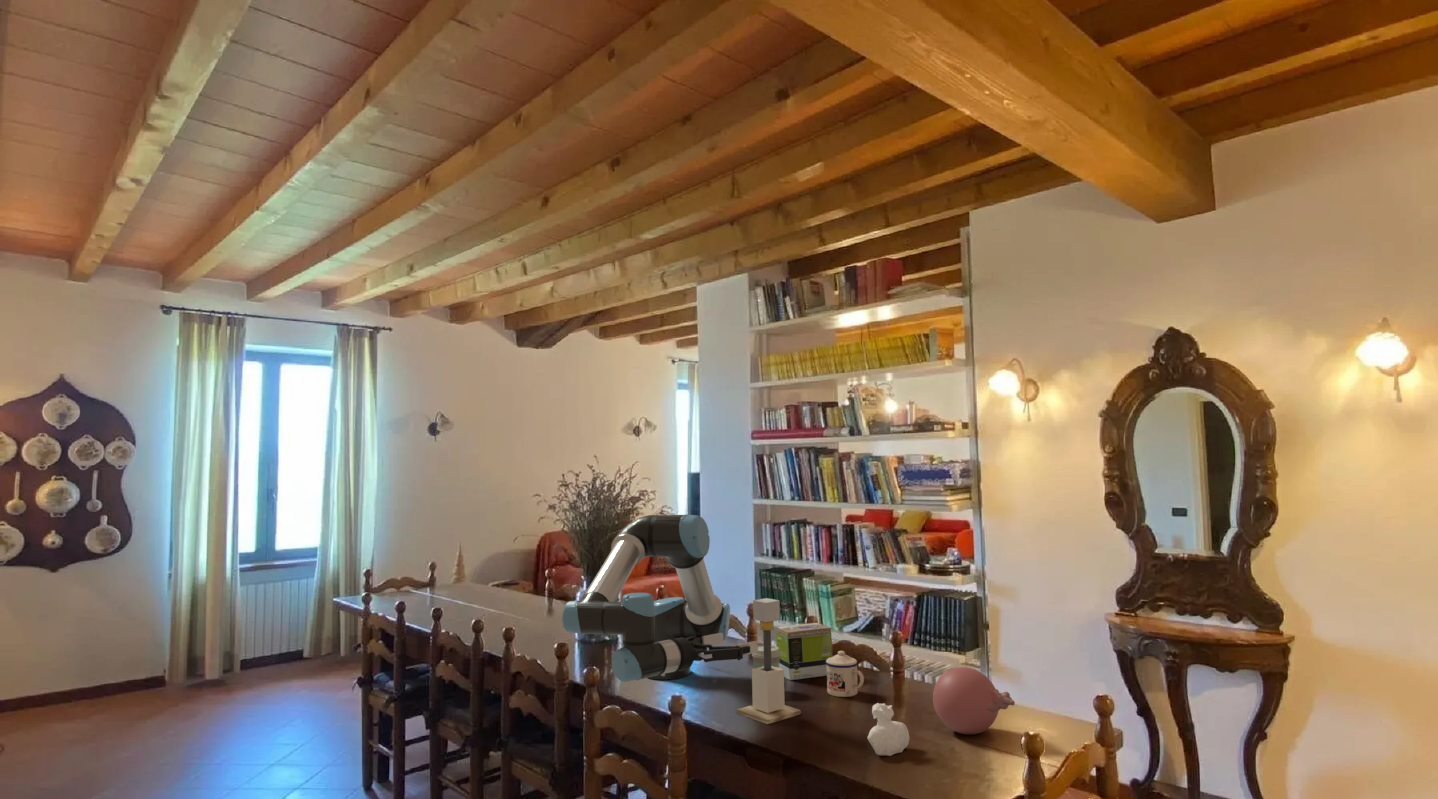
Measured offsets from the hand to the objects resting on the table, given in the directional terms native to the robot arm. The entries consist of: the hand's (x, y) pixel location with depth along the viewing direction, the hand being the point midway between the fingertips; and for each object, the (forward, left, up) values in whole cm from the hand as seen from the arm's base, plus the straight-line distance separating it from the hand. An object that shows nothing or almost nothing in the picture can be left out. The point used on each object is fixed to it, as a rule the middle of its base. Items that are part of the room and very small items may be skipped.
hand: (739, 642), depth 203 cm
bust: (+12, +38, -20) cm, 44 cm away
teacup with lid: (-30, +24, -20) cm, 43 cm away
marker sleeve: (-8, +6, -19) cm, 21 cm away
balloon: (-3, +58, -20) cm, 61 cm away
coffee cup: (-29, +1, -20) cm, 35 cm away
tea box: (-48, +9, -20) cm, 53 cm away
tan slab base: (-8, +6, -20) cm, 22 cm away
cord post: (-8, +6, -20) cm, 22 cm away
